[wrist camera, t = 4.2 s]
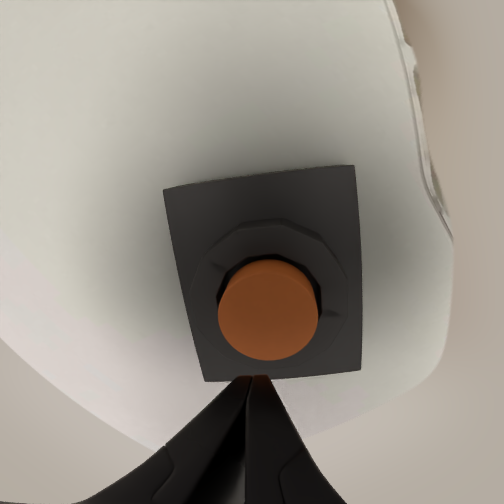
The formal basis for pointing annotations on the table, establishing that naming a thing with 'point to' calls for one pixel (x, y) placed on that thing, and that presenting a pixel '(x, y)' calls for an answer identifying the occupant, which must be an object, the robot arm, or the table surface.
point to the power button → (268, 310)
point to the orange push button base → (272, 247)
